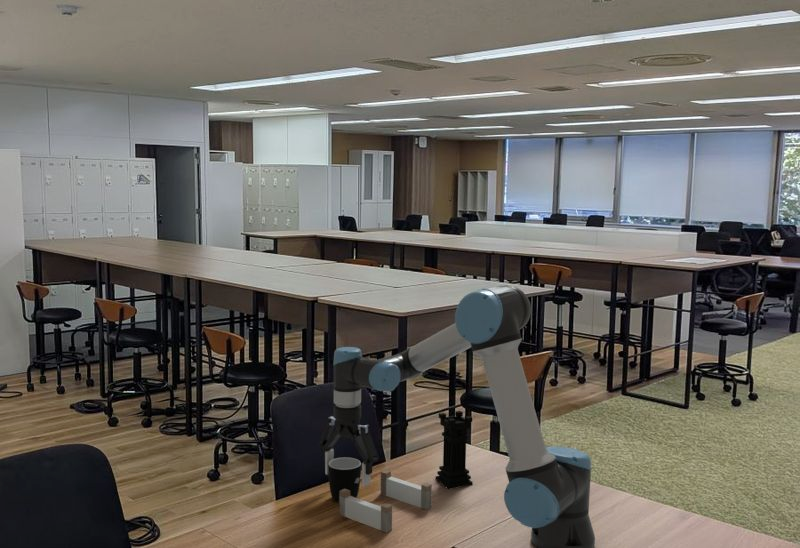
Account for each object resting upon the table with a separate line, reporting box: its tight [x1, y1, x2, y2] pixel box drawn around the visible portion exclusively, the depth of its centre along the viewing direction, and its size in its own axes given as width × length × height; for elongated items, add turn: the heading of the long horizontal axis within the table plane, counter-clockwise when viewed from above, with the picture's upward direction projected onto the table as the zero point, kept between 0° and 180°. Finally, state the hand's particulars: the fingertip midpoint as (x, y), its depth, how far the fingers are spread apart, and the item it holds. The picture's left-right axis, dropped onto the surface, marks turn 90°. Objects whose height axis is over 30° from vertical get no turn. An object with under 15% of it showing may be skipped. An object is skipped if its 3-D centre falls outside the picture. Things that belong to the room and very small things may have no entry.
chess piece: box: [434, 410, 474, 490], centre depth 209 cm, size 8×8×20 cm
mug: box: [328, 456, 362, 504], centre depth 198 cm, size 12×9×10 cm
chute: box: [338, 469, 433, 533], centre depth 190 cm, size 16×19×6 cm
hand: (347, 479), depth 198 cm, fingers open, 13 cm apart
